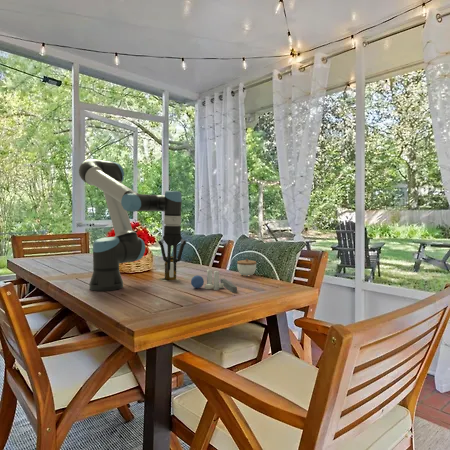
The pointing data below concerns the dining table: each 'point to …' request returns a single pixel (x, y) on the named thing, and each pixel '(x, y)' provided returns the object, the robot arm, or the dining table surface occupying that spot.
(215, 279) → the back pin right
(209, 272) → the back pin left
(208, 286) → the front pin
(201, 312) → the dining table surface
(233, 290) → the stopper bar
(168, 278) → the condiment
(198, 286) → the ball
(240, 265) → the lidded jar
